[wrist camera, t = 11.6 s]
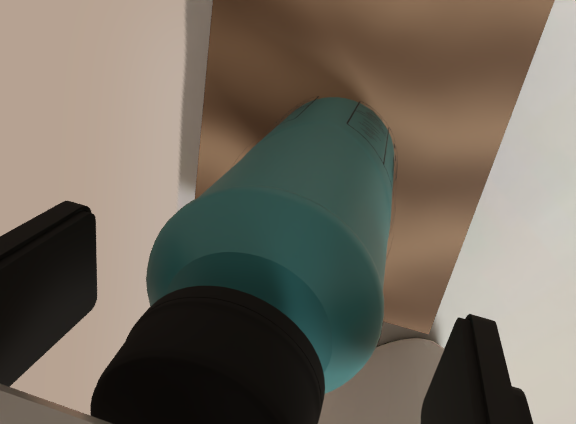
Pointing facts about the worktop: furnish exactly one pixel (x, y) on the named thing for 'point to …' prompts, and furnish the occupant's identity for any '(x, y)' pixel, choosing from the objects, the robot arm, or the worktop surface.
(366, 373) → the soap bottle
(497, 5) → the footstool
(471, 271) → the worktop surface
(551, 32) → the worktop surface
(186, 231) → the beverage bottle
